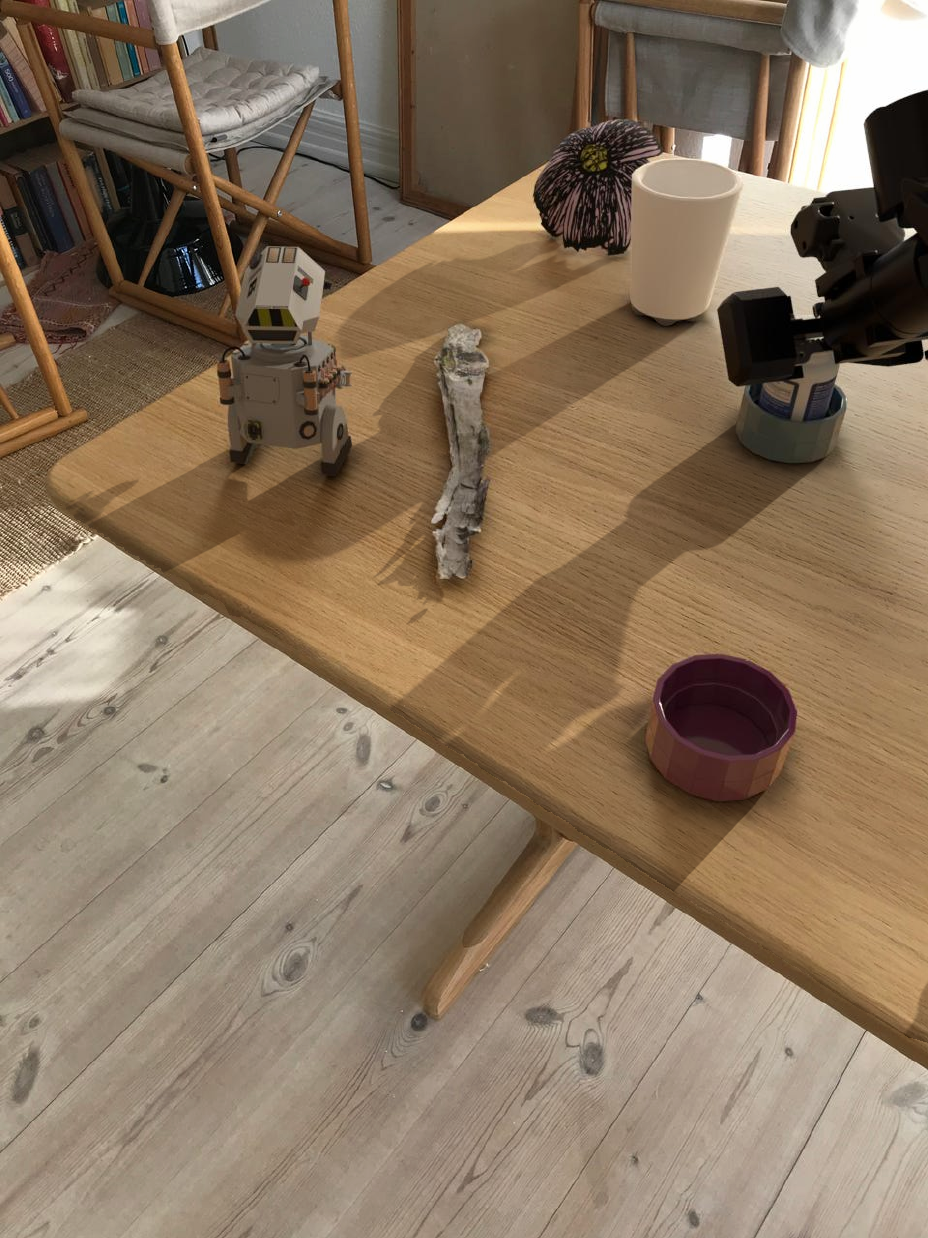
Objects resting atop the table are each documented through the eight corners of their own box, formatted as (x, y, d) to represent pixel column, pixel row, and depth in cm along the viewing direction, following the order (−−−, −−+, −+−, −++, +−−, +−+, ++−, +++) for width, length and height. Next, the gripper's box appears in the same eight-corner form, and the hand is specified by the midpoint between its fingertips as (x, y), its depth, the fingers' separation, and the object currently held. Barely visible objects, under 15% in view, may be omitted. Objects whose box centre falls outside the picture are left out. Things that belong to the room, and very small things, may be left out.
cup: (722, 292, 102) (746, 162, 93) (715, 339, 95) (740, 204, 86) (624, 281, 103) (638, 153, 94) (610, 327, 97) (624, 193, 88)
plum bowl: (787, 715, 62) (802, 671, 59) (774, 819, 57) (790, 776, 54) (658, 685, 64) (667, 641, 61) (633, 783, 58) (642, 740, 56)
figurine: (373, 412, 86) (359, 242, 76) (330, 492, 78) (308, 314, 68) (273, 400, 88) (246, 231, 77) (221, 476, 80) (183, 300, 69)
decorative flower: (502, 146, 104) (599, 70, 108) (500, 228, 115) (589, 157, 119) (607, 222, 100) (704, 141, 104) (595, 300, 111) (683, 224, 115)
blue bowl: (837, 419, 85) (849, 378, 82) (831, 473, 80) (844, 430, 77) (741, 404, 87) (750, 362, 84) (729, 455, 81) (738, 413, 79)
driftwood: (492, 328, 97) (441, 333, 97) (490, 303, 95) (438, 308, 96) (492, 582, 70) (422, 586, 71) (489, 554, 69) (417, 559, 69)
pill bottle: (813, 418, 85) (843, 311, 78) (823, 455, 81) (855, 346, 74) (748, 415, 85) (772, 308, 78) (755, 451, 81) (781, 343, 75)
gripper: (1021, 152, 66) (885, 245, 81) (755, 178, 63) (667, 270, 78) (1048, 320, 66) (907, 381, 81) (784, 354, 63) (690, 411, 78)
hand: (794, 357), depth 80 cm, fingers closed on pill bottle, 5 cm apart
